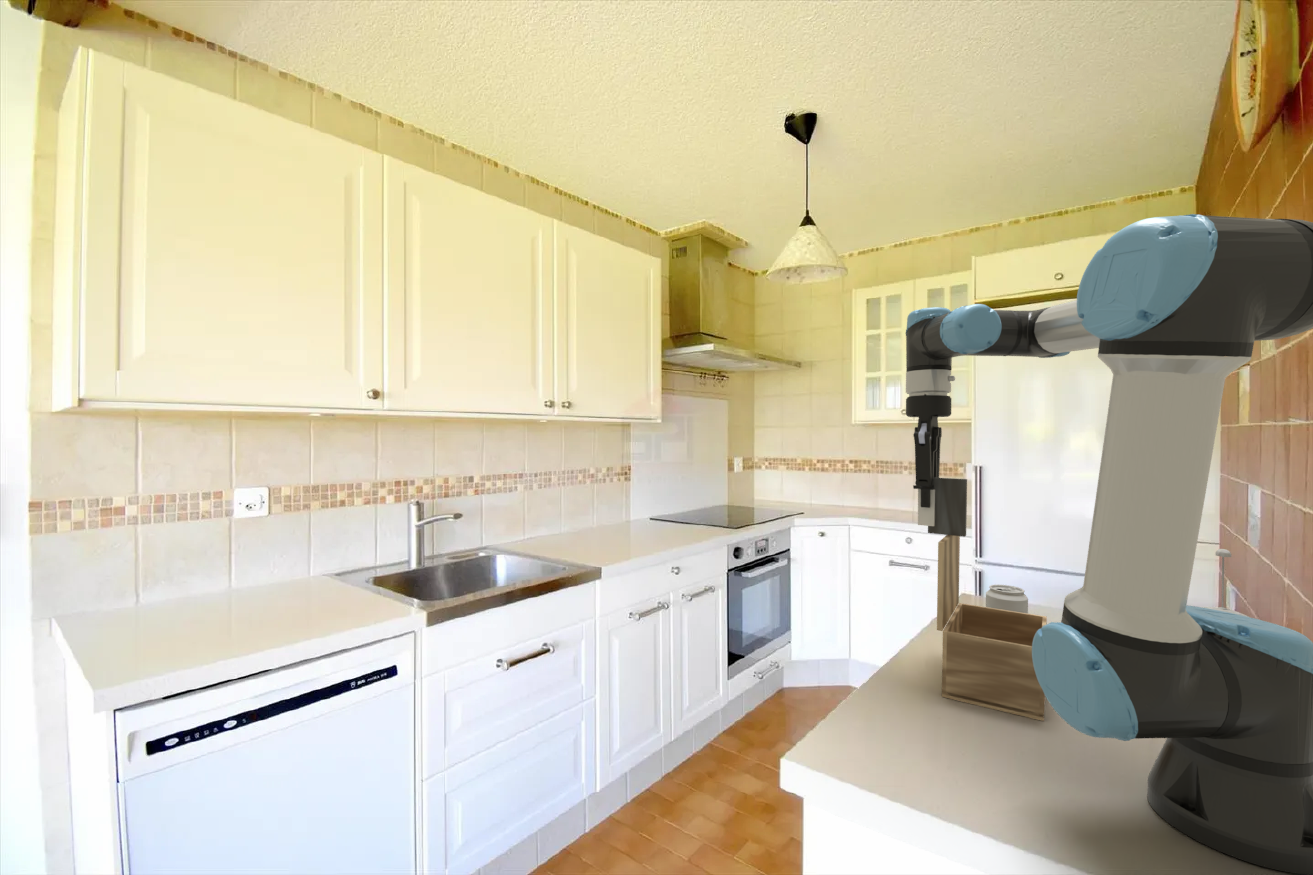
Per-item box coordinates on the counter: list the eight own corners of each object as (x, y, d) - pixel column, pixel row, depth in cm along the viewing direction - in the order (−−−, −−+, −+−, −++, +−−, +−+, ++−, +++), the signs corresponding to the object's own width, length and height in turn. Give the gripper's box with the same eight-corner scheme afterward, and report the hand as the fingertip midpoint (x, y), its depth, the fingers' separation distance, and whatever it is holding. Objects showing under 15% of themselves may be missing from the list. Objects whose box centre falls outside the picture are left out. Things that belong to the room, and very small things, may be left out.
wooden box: (1043, 721, 88) (1045, 649, 88) (941, 696, 96) (942, 631, 96) (1045, 676, 105) (1046, 616, 105) (958, 658, 113) (959, 602, 113)
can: (977, 638, 124) (978, 582, 124) (1013, 639, 124) (1014, 583, 124) (997, 651, 117) (998, 591, 117) (1035, 652, 116) (1036, 592, 116)
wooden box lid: (958, 482, 95) (918, 480, 98) (956, 633, 95) (916, 626, 98) (973, 476, 111) (938, 474, 115) (971, 604, 112) (936, 599, 115)
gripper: (944, 391, 98) (943, 531, 98) (957, 397, 111) (956, 521, 111) (897, 393, 103) (896, 527, 103) (914, 398, 115) (913, 518, 115)
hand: (927, 524), depth 107 cm, fingers closed on wooden box lid, 2 cm apart
